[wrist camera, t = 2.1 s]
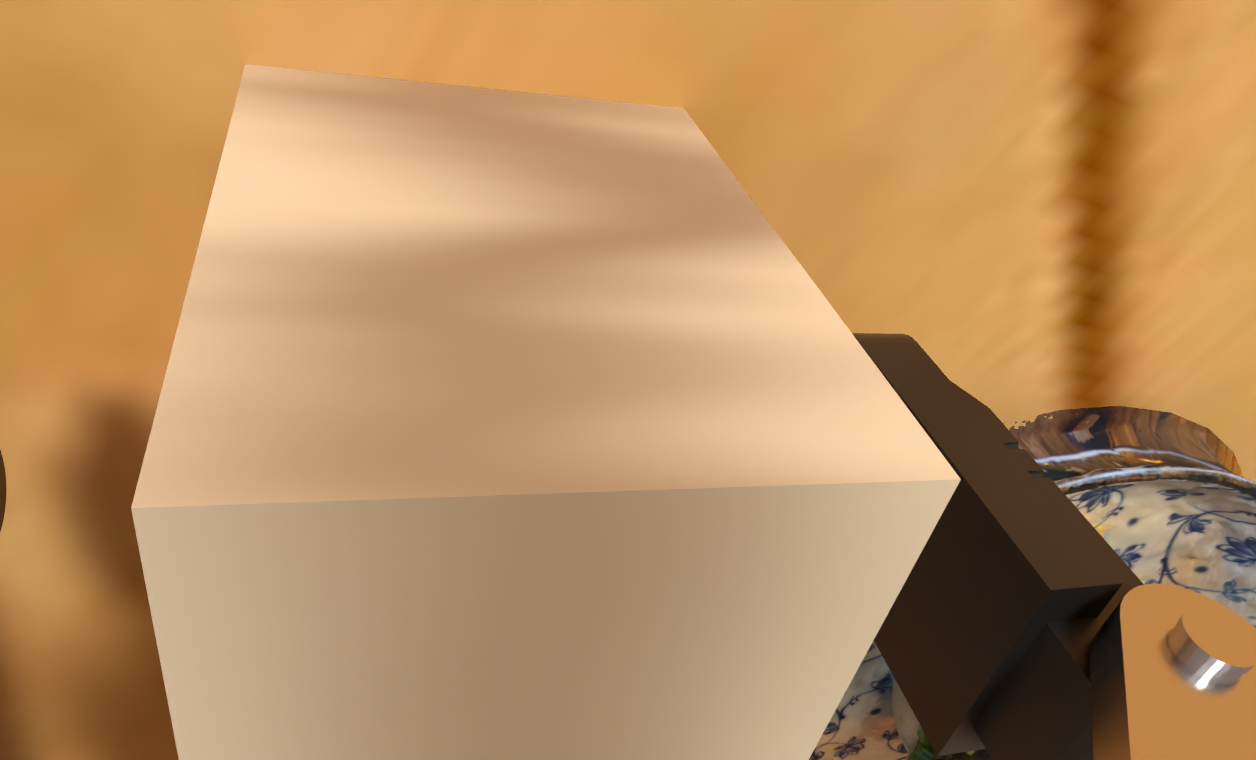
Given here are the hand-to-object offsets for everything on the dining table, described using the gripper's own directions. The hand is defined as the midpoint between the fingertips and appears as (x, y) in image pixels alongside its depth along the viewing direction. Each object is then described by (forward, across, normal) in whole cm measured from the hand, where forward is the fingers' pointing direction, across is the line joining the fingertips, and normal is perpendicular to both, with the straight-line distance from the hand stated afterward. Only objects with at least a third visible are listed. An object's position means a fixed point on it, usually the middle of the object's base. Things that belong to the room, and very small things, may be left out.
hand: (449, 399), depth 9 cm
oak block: (+2, 0, 0) cm, 2 cm away
